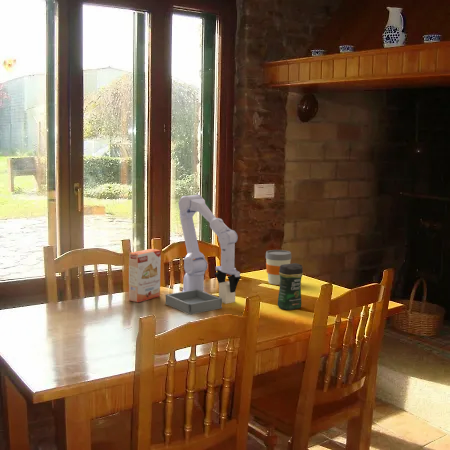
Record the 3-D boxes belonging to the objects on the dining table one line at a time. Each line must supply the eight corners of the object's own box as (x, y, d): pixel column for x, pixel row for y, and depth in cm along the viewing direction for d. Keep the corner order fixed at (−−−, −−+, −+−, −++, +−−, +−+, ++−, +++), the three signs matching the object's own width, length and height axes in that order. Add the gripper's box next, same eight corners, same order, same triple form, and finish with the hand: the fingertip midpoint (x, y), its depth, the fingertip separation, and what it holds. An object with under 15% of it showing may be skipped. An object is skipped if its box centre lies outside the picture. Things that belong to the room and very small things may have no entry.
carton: (218, 301, 258) (219, 282, 257) (228, 299, 261) (228, 281, 260) (225, 303, 254) (226, 285, 253) (235, 301, 257) (235, 283, 256)
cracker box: (138, 303, 252) (138, 254, 249) (128, 300, 256) (127, 252, 252) (161, 296, 263) (161, 249, 260) (151, 294, 267) (151, 247, 264)
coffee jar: (285, 311, 244) (287, 266, 241) (274, 306, 251) (275, 263, 248) (304, 308, 249) (306, 264, 246) (293, 303, 256) (294, 261, 253)
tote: (165, 303, 252) (165, 294, 251) (196, 298, 261) (197, 289, 261) (189, 314, 237) (189, 304, 237) (221, 308, 247) (222, 298, 246)
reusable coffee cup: (295, 281, 294) (296, 251, 292) (283, 287, 284) (284, 255, 281) (272, 278, 301) (273, 248, 299) (260, 283, 290) (261, 252, 288)
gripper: (245, 260, 251) (245, 292, 253) (224, 255, 263) (224, 285, 265) (232, 262, 247) (232, 294, 249) (211, 257, 259) (211, 287, 260)
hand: (227, 290), depth 257 cm, fingers open, 7 cm apart
